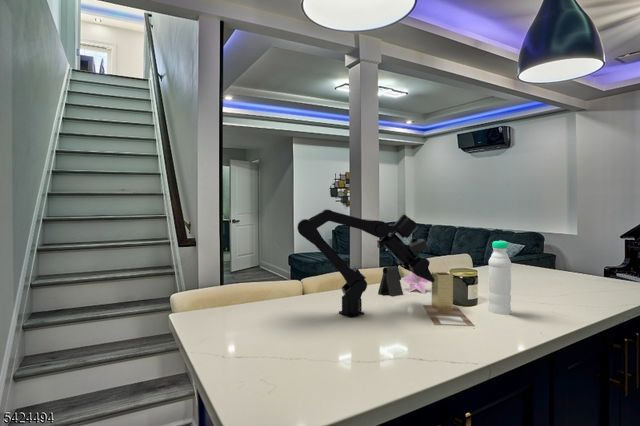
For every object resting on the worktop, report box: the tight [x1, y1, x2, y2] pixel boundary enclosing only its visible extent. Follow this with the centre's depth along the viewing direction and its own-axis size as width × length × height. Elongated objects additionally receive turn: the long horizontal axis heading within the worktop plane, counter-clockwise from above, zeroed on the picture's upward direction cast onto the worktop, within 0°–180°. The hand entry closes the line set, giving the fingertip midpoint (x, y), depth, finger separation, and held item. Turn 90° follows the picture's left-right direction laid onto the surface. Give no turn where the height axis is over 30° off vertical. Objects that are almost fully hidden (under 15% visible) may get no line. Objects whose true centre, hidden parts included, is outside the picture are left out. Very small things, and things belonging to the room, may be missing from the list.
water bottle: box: [487, 240, 512, 315], centre depth 123 cm, size 7×7×25 cm
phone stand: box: [377, 265, 404, 298], centre depth 149 cm, size 9×6×12 cm, turn 32°
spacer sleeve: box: [431, 271, 454, 311], centre depth 126 cm, size 5×5×12 cm
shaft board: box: [422, 304, 476, 330], centre depth 120 cm, size 22×12×4 cm, turn 174°
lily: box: [400, 271, 431, 295], centre depth 157 cm, size 12×12×10 cm
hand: (428, 278), depth 126 cm, fingers open, 9 cm apart
